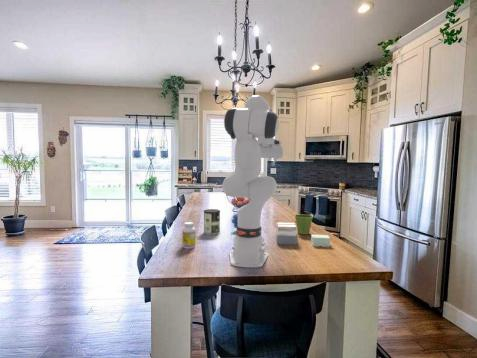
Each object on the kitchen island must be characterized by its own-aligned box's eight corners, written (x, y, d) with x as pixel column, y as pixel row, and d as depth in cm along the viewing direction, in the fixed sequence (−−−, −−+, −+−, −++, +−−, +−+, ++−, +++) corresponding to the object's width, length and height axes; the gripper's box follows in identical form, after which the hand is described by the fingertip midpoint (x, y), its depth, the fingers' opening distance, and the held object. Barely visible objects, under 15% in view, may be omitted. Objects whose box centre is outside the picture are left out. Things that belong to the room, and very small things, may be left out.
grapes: (232, 232, 170) (232, 214, 169) (231, 230, 177) (231, 212, 176) (250, 232, 172) (250, 213, 171) (248, 229, 178) (249, 211, 177)
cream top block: (296, 236, 147) (296, 227, 147) (277, 235, 148) (278, 226, 148) (294, 231, 157) (294, 222, 157) (277, 230, 158) (277, 222, 158)
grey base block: (297, 245, 147) (297, 236, 147) (276, 244, 148) (277, 235, 148) (295, 239, 158) (295, 231, 158) (276, 238, 159) (276, 230, 159)
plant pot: (315, 232, 172) (316, 215, 172) (309, 236, 163) (309, 218, 162) (298, 229, 179) (298, 213, 178) (290, 233, 169) (291, 216, 168)
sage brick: (329, 247, 144) (330, 238, 144) (312, 246, 145) (312, 237, 145) (327, 243, 150) (327, 235, 150) (310, 243, 151) (311, 234, 150)
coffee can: (220, 230, 175) (220, 209, 174) (219, 234, 165) (219, 212, 164) (204, 230, 175) (204, 208, 174) (202, 234, 165) (202, 211, 164)
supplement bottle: (179, 246, 141) (179, 222, 140) (190, 244, 146) (190, 220, 145) (187, 250, 136) (187, 225, 135) (197, 247, 141) (197, 223, 140)
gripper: (248, 141, 150) (248, 165, 150) (283, 141, 152) (283, 166, 153) (246, 141, 156) (246, 165, 157) (280, 142, 158) (280, 165, 159)
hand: (265, 165), depth 155 cm, fingers open, 8 cm apart
